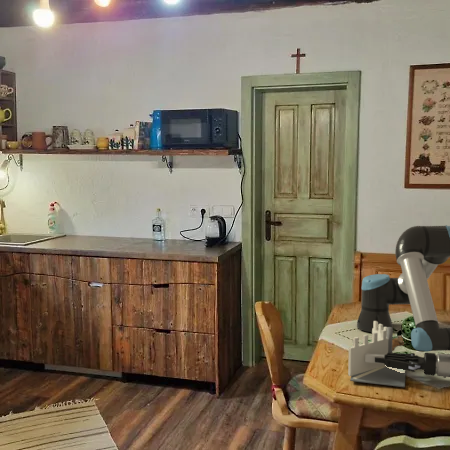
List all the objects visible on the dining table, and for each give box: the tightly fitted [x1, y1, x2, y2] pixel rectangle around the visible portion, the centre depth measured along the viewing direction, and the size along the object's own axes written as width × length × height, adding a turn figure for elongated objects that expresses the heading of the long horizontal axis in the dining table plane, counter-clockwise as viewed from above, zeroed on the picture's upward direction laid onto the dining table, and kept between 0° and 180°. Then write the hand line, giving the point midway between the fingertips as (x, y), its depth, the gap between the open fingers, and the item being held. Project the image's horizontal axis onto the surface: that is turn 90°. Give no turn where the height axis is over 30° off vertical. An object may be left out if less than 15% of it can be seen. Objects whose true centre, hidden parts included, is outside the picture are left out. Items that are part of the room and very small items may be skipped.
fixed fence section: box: [371, 321, 394, 353], centre depth 215 cm, size 14×2×14 cm, turn 11°
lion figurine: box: [392, 335, 405, 351], centre depth 226 cm, size 15×5×9 cm
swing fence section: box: [347, 330, 388, 377], centre depth 202 cm, size 20×1×13 cm, turn 125°
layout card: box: [349, 366, 406, 388], centre depth 208 cm, size 34×18×1 cm, turn 161°
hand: (365, 357), depth 200 cm, fingers closed
